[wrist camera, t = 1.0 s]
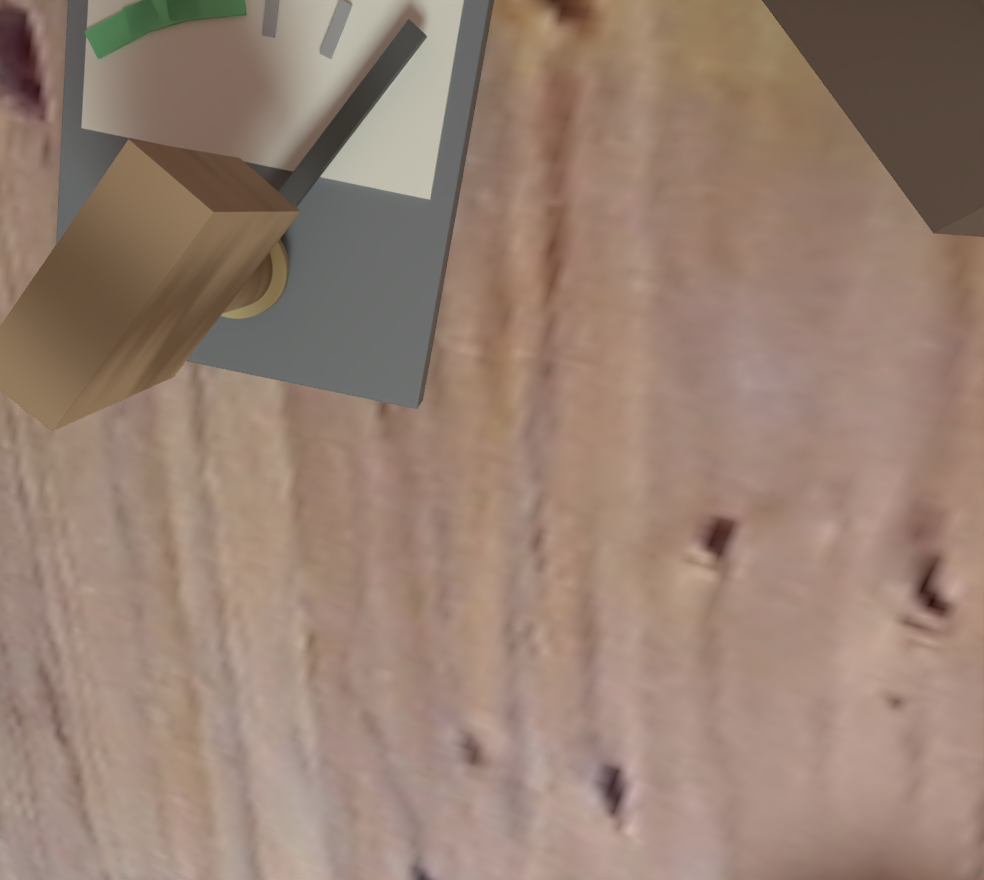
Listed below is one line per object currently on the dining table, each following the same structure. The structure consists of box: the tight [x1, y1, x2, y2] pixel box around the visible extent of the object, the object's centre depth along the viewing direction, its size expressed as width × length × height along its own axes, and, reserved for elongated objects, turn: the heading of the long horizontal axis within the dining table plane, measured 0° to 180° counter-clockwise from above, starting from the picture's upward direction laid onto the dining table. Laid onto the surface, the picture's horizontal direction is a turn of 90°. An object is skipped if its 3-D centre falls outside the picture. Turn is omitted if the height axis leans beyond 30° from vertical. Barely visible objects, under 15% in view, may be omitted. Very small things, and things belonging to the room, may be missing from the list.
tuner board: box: [56, 0, 494, 409], centre depth 29 cm, size 14×19×2 cm
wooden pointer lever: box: [0, 19, 427, 431], centre depth 24 cm, size 14×4×10 cm, turn 139°
